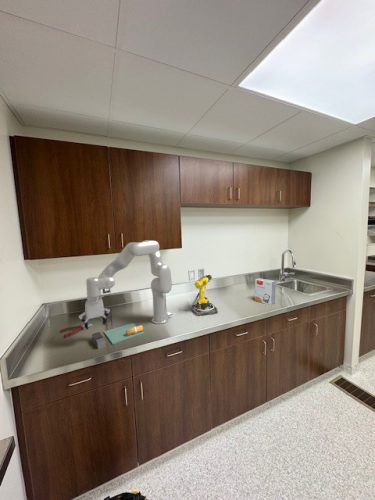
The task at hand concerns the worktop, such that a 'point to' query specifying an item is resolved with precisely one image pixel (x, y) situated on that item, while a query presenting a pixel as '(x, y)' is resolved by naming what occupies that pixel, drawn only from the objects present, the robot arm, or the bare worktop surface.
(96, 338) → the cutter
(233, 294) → the worktop surface
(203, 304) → the yellow upright jointed figure
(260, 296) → the hard drive box
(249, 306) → the worktop surface
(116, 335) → the cutting mat
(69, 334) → the pliers
